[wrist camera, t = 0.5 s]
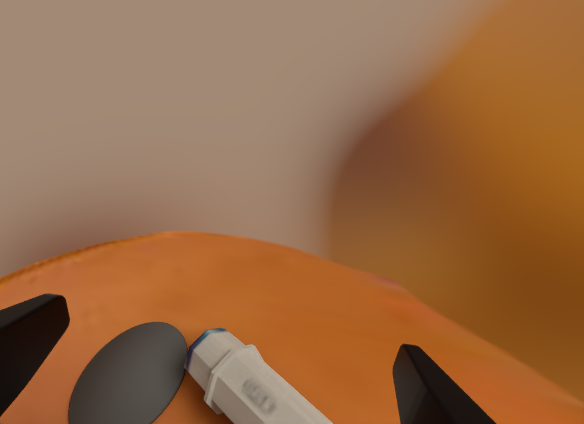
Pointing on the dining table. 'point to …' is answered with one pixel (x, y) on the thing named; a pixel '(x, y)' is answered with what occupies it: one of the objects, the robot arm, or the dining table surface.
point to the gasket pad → (131, 377)
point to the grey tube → (245, 383)
